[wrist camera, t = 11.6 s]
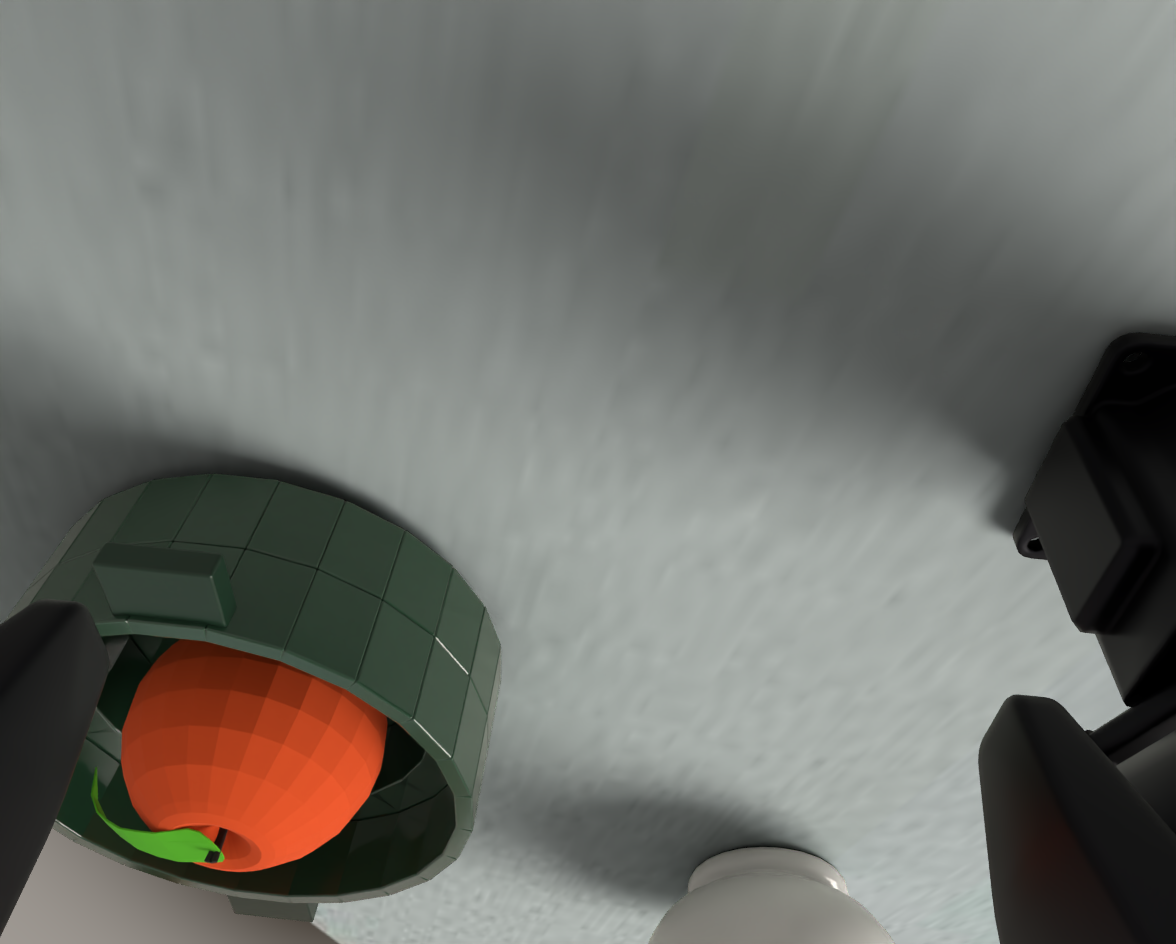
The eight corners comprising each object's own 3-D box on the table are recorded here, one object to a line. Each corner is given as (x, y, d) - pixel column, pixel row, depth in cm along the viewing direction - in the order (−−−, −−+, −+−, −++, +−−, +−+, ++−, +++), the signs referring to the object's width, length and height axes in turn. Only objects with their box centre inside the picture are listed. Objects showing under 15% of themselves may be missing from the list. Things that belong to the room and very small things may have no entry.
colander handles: (223, 551, 20) (211, 576, 20) (319, 901, 31) (313, 923, 31) (104, 539, 20) (89, 563, 20) (241, 892, 31) (234, 914, 31)
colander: (504, 489, 25) (467, 656, 21) (502, 767, 33) (476, 924, 29) (3, 437, 25) (-134, 592, 21) (131, 727, 34) (53, 876, 30)
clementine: (209, 708, 32) (111, 922, 26) (110, 565, 27) (-32, 787, 22) (437, 702, 30) (383, 926, 25) (372, 551, 26) (289, 784, 21)
